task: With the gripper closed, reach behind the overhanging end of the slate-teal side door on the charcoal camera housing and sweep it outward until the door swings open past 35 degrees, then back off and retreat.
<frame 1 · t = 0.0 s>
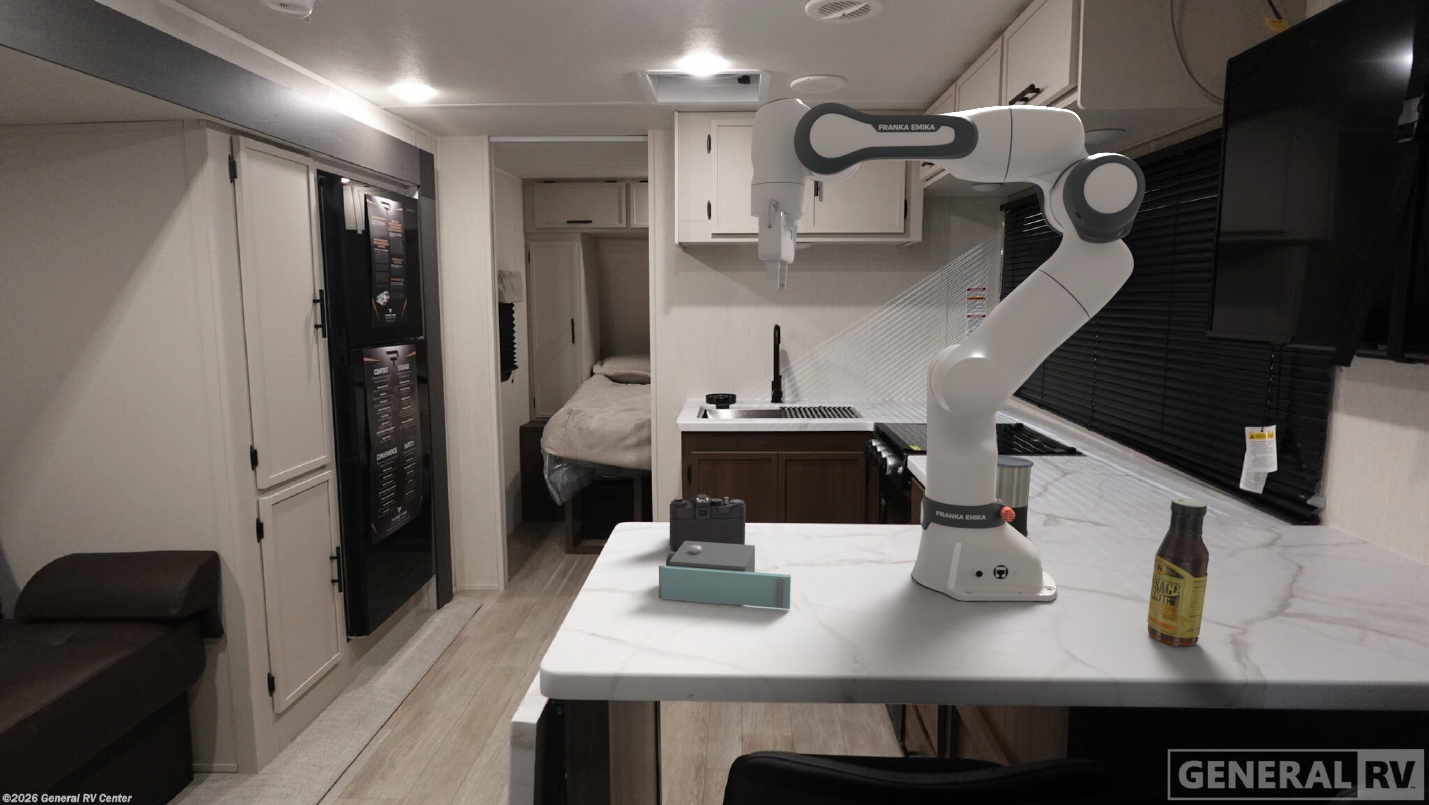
hand: (776, 290, 124), 48 cm above the countertop, fingers open, 8 cm apart
sauce bottle: (1172, 641, 103), on the countertop
camera housing: (713, 588, 121), on the countertop
camera: (706, 544, 144), on the countertop
side door: (722, 587, 114), point 3 cm above the countertop, hinge at 0.0°
milk frother: (994, 537, 148), on the countertop
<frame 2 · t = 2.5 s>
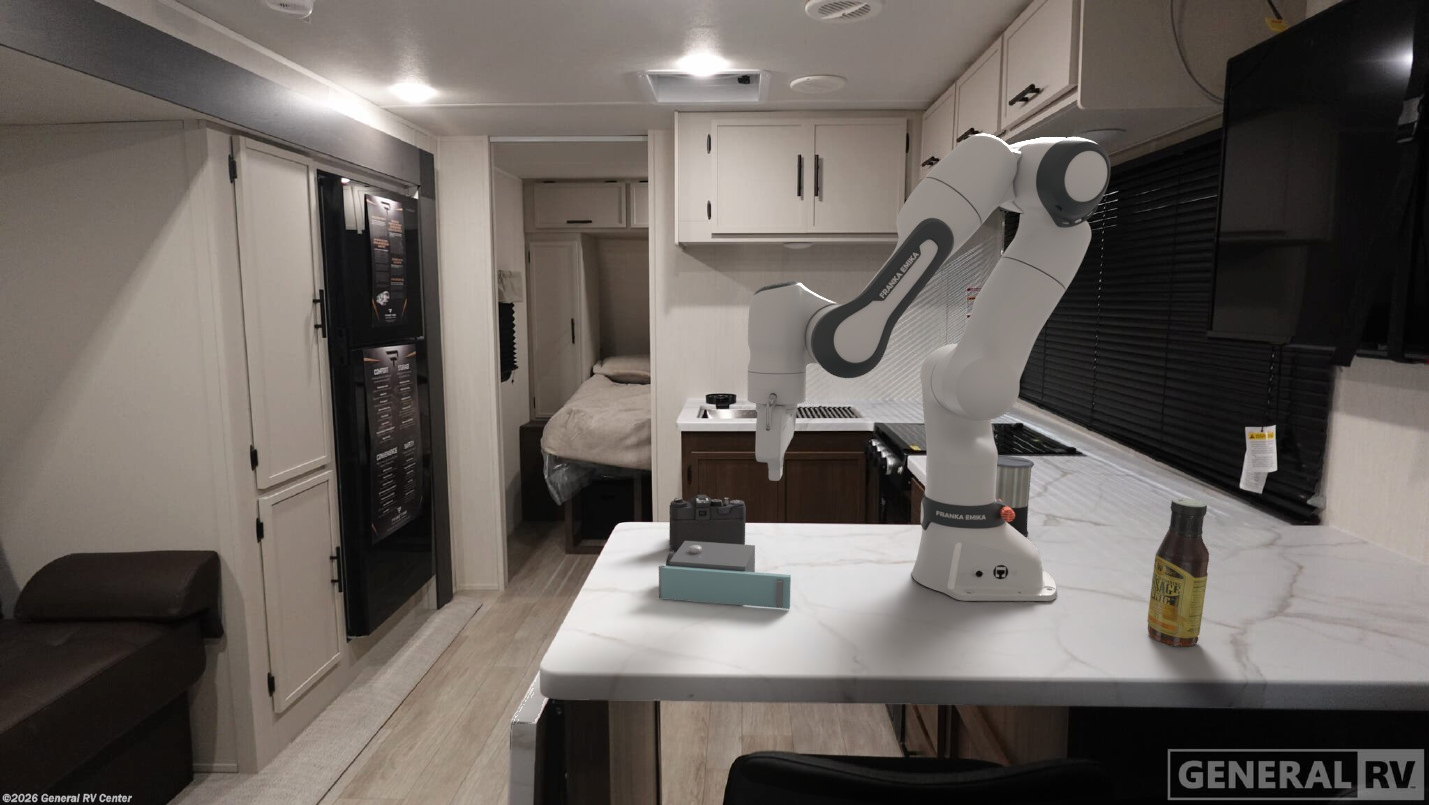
hand: (775, 478, 116), 19 cm above the countertop, fingers closed
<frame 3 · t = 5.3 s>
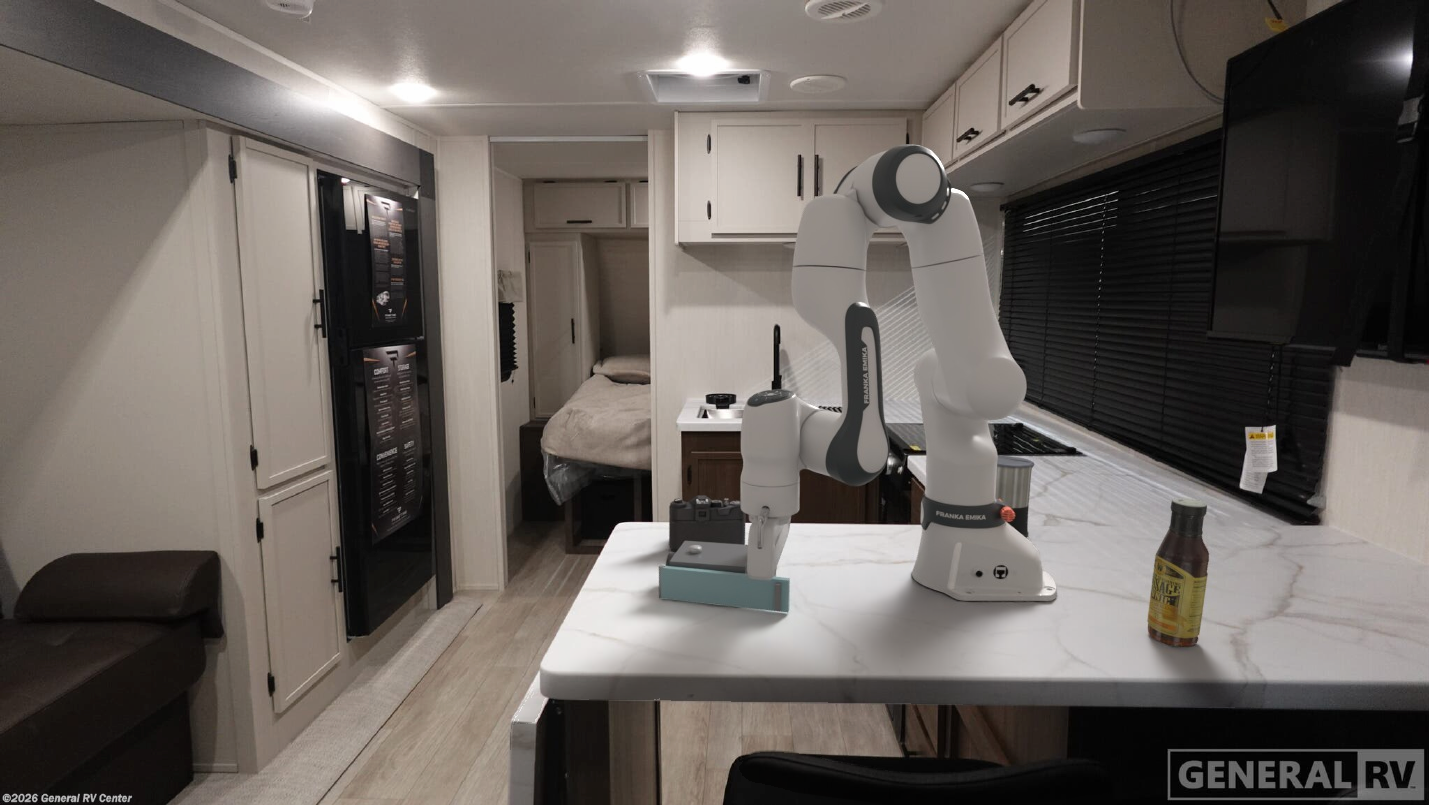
hand: (769, 586, 114), 3 cm above the countertop, fingers closed
side door: (721, 589, 114), point 3 cm above the countertop, hinge at 3.8°, touching gripper
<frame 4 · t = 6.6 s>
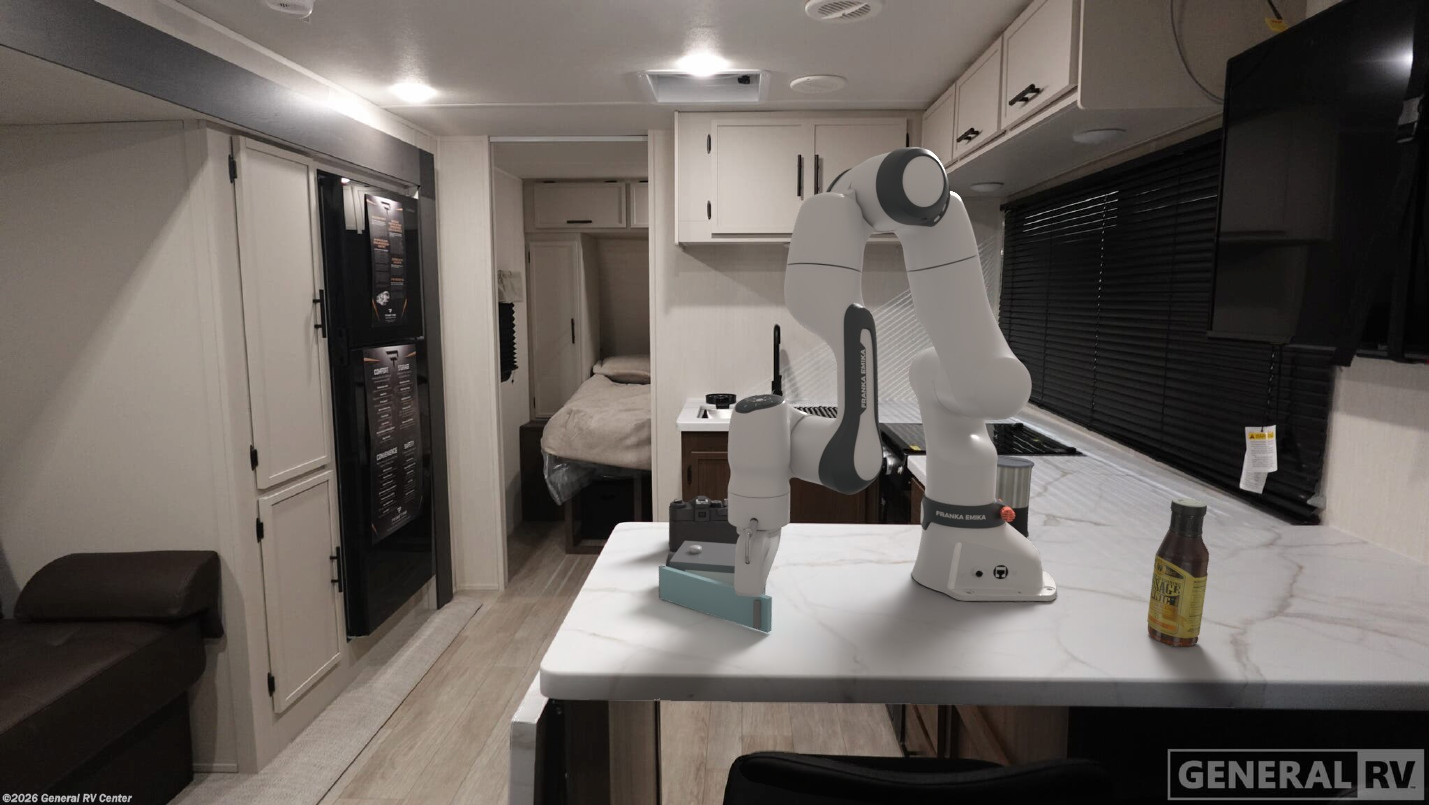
hand: (758, 601, 108), 3 cm above the countertop, fingers closed
side door: (709, 598, 110), point 3 cm above the countertop, hinge at 25.7°, touching gripper
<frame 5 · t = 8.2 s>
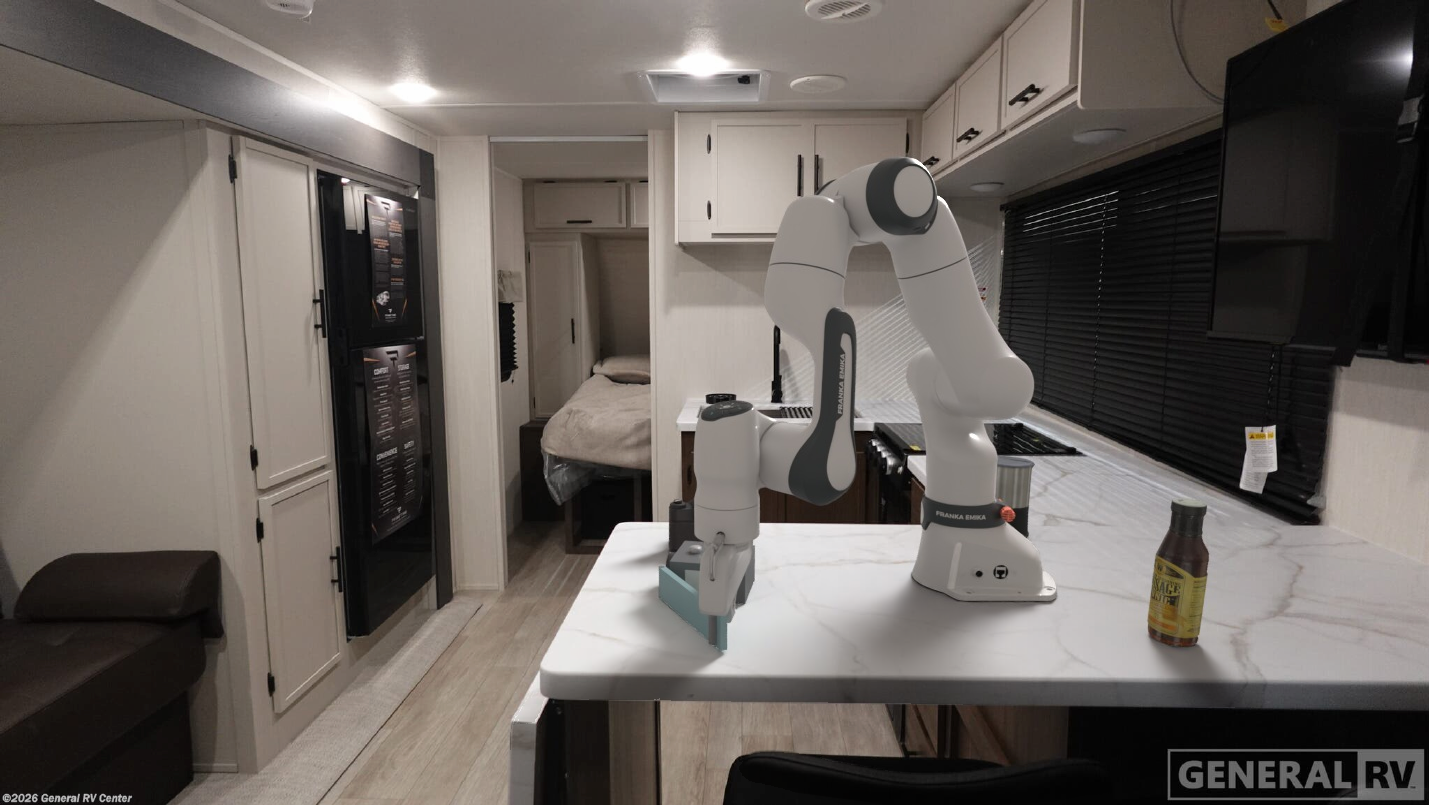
hand: (727, 619, 103), 3 cm above the countertop, fingers closed
side door: (687, 605, 108), point 3 cm above the countertop, hinge at 50.3°, touching gripper
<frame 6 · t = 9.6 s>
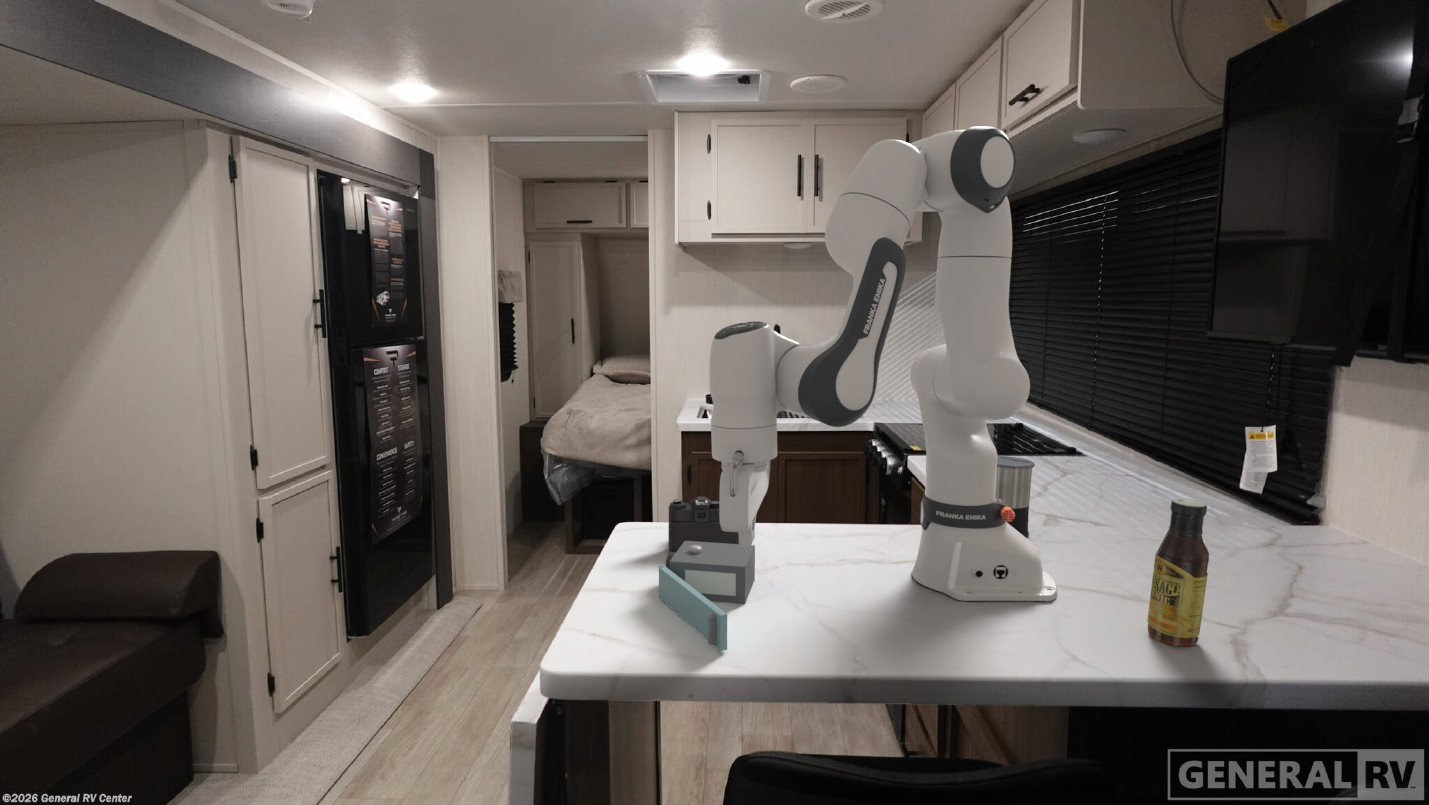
hand: (747, 542, 103), 14 cm above the countertop, fingers closed
side door: (687, 605, 108), point 3 cm above the countertop, hinge at 50.3°
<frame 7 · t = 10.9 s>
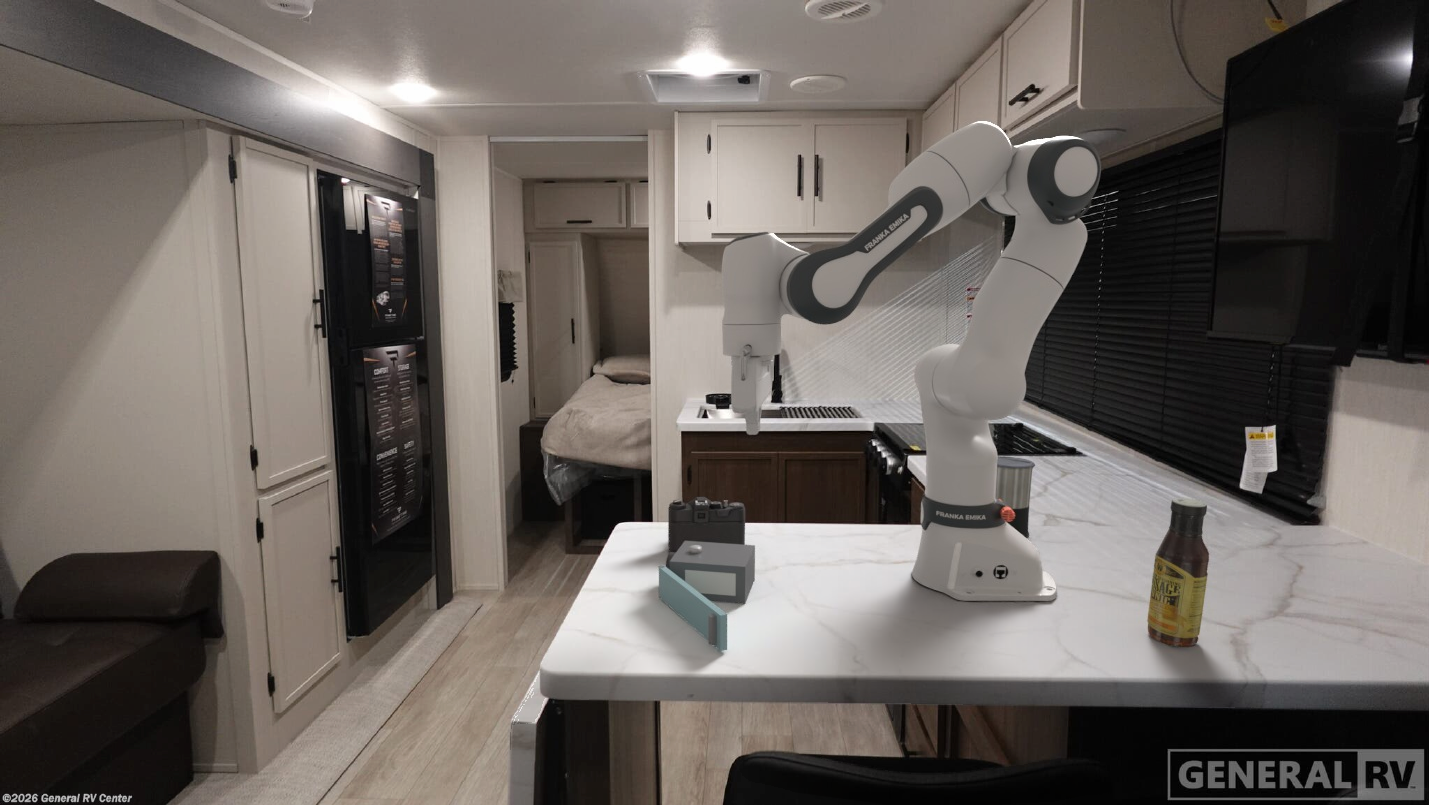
hand: (753, 433, 115), 26 cm above the countertop, fingers closed
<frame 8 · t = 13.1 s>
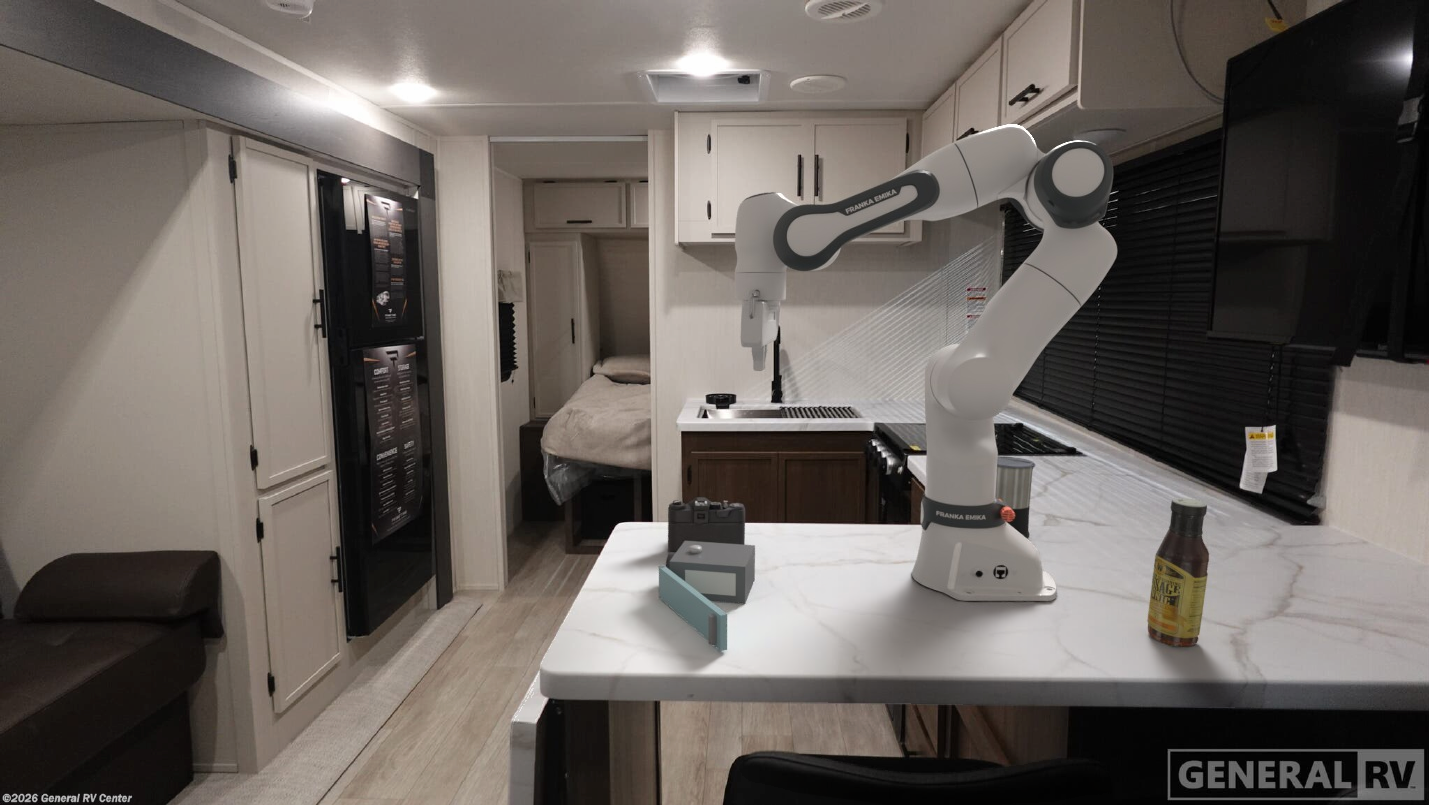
hand: (759, 370, 131), 34 cm above the countertop, fingers closed
at the end: side door at +50° (first picture: +0°) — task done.
